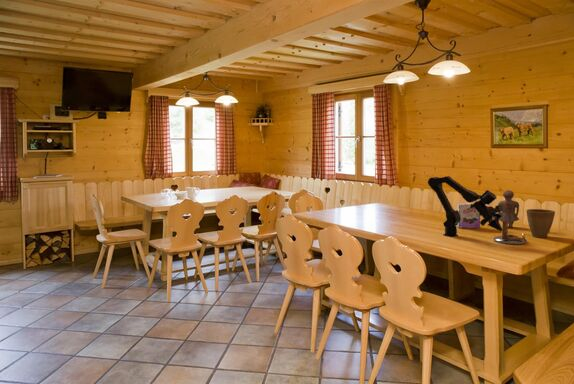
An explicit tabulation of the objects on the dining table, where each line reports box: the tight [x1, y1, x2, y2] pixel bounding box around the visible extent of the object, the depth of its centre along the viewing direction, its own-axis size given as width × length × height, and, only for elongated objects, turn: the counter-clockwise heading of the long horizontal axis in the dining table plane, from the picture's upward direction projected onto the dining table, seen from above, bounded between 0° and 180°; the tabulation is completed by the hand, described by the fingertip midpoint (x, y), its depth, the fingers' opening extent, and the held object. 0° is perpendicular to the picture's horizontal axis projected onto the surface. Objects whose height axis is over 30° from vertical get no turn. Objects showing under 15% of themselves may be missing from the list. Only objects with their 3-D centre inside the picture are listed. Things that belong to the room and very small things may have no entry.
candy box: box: [456, 202, 481, 230], centre depth 287 cm, size 14×6×16 cm, turn 81°
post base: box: [493, 233, 528, 246], centre depth 246 cm, size 17×17×5 cm
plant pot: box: [525, 208, 556, 239], centre depth 256 cm, size 15×15×16 cm
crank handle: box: [500, 221, 524, 241], centre depth 243 cm, size 12×13×11 cm
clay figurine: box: [497, 189, 520, 228], centre depth 285 cm, size 13×10×25 cm
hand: (501, 230), depth 242 cm, fingers closed, pressing on crank handle
